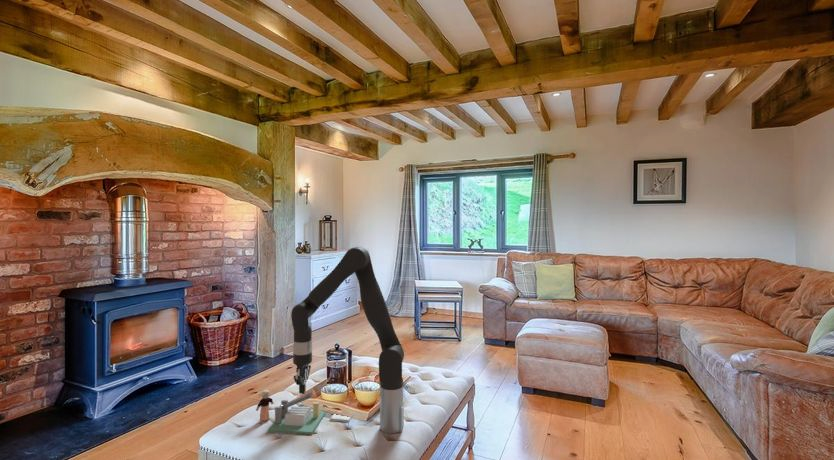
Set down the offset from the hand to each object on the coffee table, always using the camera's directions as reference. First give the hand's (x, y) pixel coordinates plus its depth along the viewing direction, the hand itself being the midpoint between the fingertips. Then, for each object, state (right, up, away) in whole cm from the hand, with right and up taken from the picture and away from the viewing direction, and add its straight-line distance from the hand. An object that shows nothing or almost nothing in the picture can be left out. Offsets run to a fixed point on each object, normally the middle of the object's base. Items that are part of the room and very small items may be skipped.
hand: (302, 392), depth 159 cm
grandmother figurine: (-16, -13, +3) cm, 21 cm away
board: (-2, -13, 0) cm, 13 cm away
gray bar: (-2, -5, 0) cm, 5 cm away
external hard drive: (+16, -13, +8) cm, 22 cm away
